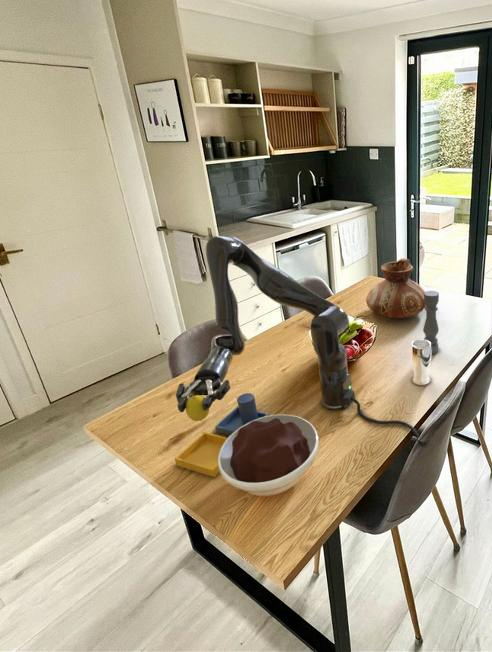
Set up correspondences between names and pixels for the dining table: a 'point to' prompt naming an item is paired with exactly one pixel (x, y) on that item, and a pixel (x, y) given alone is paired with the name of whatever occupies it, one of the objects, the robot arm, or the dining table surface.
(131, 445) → the dining table surface
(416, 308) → the painted clay pot
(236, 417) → the blue tray
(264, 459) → the white serving bowl
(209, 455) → the yellow tray
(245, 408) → the blue cylinder
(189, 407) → the lemon
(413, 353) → the silver metal cylinder
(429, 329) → the grey pepper mill
